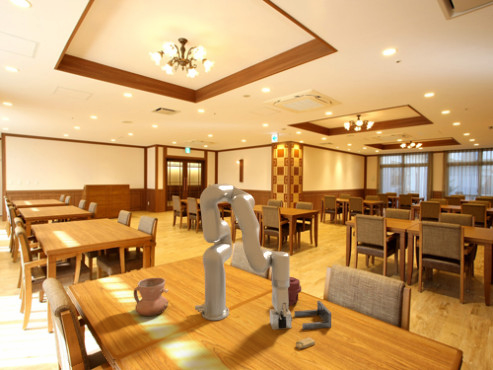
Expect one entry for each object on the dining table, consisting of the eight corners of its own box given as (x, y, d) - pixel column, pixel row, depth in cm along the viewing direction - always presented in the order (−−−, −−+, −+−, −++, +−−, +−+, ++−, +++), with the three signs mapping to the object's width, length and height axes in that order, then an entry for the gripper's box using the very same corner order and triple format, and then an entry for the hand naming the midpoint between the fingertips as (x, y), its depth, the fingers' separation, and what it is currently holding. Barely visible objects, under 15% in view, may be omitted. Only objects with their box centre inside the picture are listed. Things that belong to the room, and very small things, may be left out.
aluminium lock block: (272, 329, 110) (272, 315, 110) (269, 323, 115) (269, 309, 115) (292, 327, 111) (293, 313, 111) (289, 321, 116) (289, 307, 116)
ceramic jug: (176, 306, 130) (175, 277, 129) (159, 321, 116) (158, 289, 115) (144, 302, 134) (144, 274, 134) (124, 316, 120) (123, 285, 120)
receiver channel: (303, 329, 110) (303, 315, 109) (294, 315, 121) (294, 302, 121) (331, 327, 111) (331, 313, 111) (319, 313, 123) (319, 300, 122)
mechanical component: (301, 299, 137) (301, 308, 127) (281, 297, 139) (280, 306, 129) (301, 275, 137) (301, 283, 127) (281, 274, 139) (280, 281, 129)
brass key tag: (299, 350, 97) (299, 347, 96) (294, 345, 99) (294, 342, 99) (314, 344, 100) (314, 341, 100) (309, 340, 103) (309, 336, 103)
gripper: (267, 275, 120) (267, 314, 121) (277, 291, 103) (277, 336, 104) (283, 274, 121) (283, 313, 122) (295, 289, 104) (295, 335, 105)
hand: (280, 323), depth 113 cm, fingers closed on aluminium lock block, 5 cm apart
